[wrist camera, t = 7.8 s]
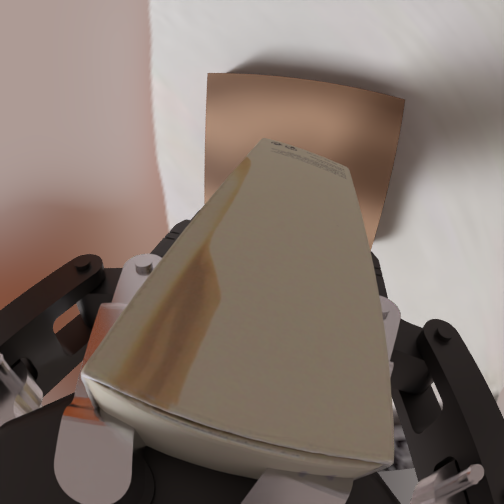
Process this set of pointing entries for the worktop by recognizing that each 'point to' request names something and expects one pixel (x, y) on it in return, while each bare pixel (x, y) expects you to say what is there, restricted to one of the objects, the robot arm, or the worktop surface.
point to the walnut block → (304, 129)
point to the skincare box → (259, 331)
